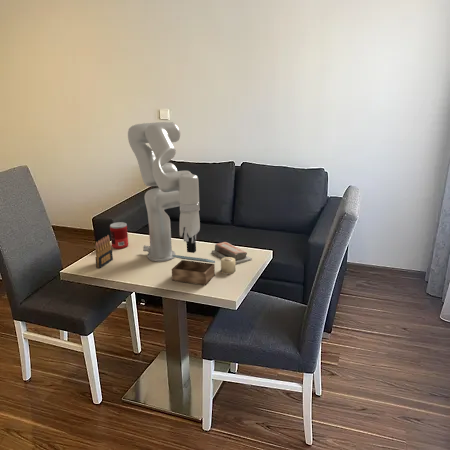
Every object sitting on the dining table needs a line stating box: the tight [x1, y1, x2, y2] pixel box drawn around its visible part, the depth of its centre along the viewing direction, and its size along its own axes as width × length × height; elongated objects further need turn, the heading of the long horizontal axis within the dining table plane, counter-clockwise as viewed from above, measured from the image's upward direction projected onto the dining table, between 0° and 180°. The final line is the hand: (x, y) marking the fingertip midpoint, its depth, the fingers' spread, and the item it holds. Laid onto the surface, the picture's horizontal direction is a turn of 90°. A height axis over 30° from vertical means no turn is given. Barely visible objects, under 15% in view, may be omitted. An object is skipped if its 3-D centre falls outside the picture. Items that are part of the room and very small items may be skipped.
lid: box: [173, 254, 216, 264], centre depth 191 cm, size 14×10×1 cm
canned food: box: [109, 221, 129, 250], centre depth 227 cm, size 8×8×11 cm
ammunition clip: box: [95, 234, 114, 269], centre depth 206 cm, size 11×2×12 cm, turn 162°
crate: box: [171, 259, 216, 286], centre depth 192 cm, size 14×10×5 cm
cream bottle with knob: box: [220, 257, 236, 275], centre depth 198 cm, size 6×6×5 cm
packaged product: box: [211, 241, 253, 266], centre depth 214 cm, size 18×5×10 cm
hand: (191, 251), depth 187 cm, fingers closed
